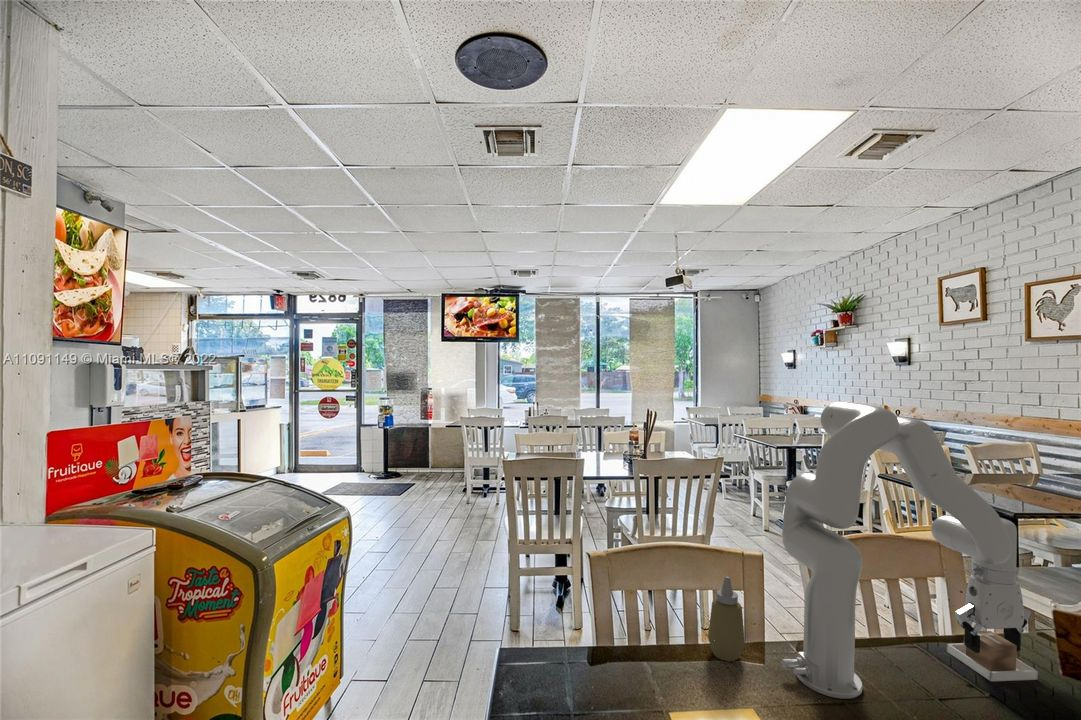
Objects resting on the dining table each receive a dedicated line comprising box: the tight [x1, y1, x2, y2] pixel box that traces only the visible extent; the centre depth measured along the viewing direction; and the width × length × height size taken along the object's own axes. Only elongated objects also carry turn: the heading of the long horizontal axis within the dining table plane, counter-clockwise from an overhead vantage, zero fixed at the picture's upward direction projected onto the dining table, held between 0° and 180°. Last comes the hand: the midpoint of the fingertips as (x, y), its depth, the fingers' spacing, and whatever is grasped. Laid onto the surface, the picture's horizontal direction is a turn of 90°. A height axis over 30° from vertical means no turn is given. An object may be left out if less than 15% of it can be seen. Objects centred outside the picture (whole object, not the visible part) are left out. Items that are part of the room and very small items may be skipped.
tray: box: [946, 642, 1039, 682], centre depth 115 cm, size 11×11×2 cm
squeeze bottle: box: [707, 576, 746, 662], centre depth 118 cm, size 8×8×18 cm
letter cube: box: [966, 630, 1018, 672], centre depth 115 cm, size 6×6×6 cm
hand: (992, 648), depth 115 cm, fingers open, 9 cm apart
